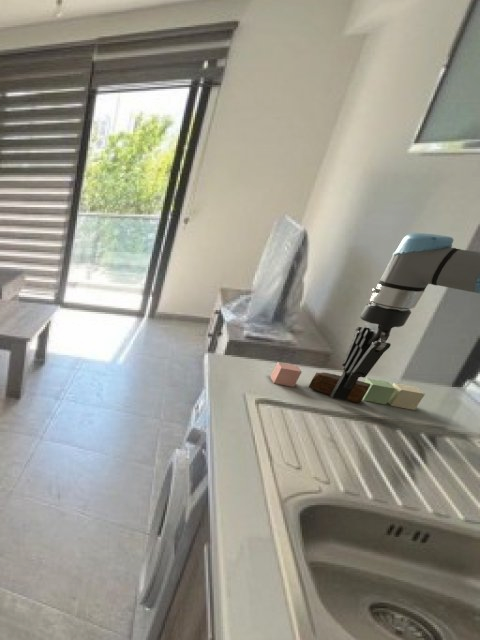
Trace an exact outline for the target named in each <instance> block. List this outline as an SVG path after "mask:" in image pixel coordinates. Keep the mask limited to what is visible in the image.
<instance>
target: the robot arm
mask: <svg viewBox="0 0 480 640" xmlns="http://www.w3.org/2000/svg"><path fill="white" fill-rule="evenodd" d="M453 243H454V238H453V237H451V236H447V235H441V234H434V233H425V232H424V233H421V232H412V233H409V234H407V235H405V236H404V237H403V238H402V240H401V241H400V243H399V245H398V247H397V248H396V250H395V251H394V252H393V253H392V256H391V258H390V259H389V262H388V264H387V266H386V268H385V270H384V272H383V273H382V276H381V278H380V279H379V281H378V283H377V285H376V287H375V288H372V289H371V293H372V294H371V296H370V297H369V301H370V302H368V303H366V305H365V306H364V308H363V310H362V312H361V314H360V316H359V317H360V319H361V320H362V321H364V322H365V323H364V325H363V327H362V326H357V327H356V328H355V331H354V336H353V338H352V340H351V343H350V345H349V347H348V350H347V352H346V355H345V356H344V359H343V362H342V364H341V366H342V367H343V369H342V370H343V371H342V374H341V375H340V376H341V377H340V379H339V381H338V383H337V384H336V386H335V388H334V390H333V392H332V393H331V395H329V396H330V397H331V398H332V399H336V400H341V401H347V400H346V399H347V398H348V396H349V394H350V392H351V391H352V389H353V387H354V385H355V384H356V382H357V380H358V381H359V379H360V378H363V379H364V378H365V379H366V378H367V376H368V375H369V373H370V372H371V370H372V369H373V368H374V366H375V365H376V364H377V362H378V361H379V360H380V359H381V357H382V356H383V355H384V353H385V352H387V350H389V349H390V347H391V345H392V344H391V342H387V341H388V340H389V338H390V335H391V331H392V329H394V328H401V327H404V326H405V324H406V323H407V321H408V319H409V318H410V316H411V315H412V310H411V309H415V308H416V306H417V304H418V303H419V301H420V299H421V298H422V296H423V294H424V293H425V290H426V288H427V287H428V286H429V285H433V286H436V287H437V286H439V287H444V288H450V289H455V290H460V291H465V292H470V293H475V294H479V295H480V251H478V250H477V251H475V250H468V249H461V248H456V247H453Z"/></svg>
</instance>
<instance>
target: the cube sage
mask: <svg viewBox="0 0 480 640" xmlns="http://www.w3.org/2000/svg"><path fill="white" fill-rule="evenodd" d="M363 382H365V383H369V384H370V387H369V389H368V390H367V392H366V394H365V395H364V397H363V399H362V401H365V402H370V403H376V404H382V405H387V404H388V400H389V399H390V397H391V396H392V394H393V392H394V391H395V388H394V387H393V386H392V385H393V384H391V383H390V382H389V381H386V380H381V379H375V378H368V377H365V379H364V380H363Z"/></svg>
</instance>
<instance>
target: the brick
mask: <svg viewBox="0 0 480 640" xmlns="http://www.w3.org/2000/svg"><path fill="white" fill-rule="evenodd" d="M340 377H341V375H340V374H336V373H335V374H334V373H330V372H323V371H322V372H315V374H314V376H313V377H312V379H311V381H310V383H309V384H308V388H309V389H311V390H313V391H315V392H318V393H321V394H323V395H324V394H325V395H328V396H330V395H331V393H332V392H333V390H334V388H335V386H336V384H337V383H338V381H339V379H340ZM369 387H370V384H369V383H365V382H364V381H361V380H359V379H358V380H357V382H356V384H355V385H354V387H353V389H352V391H351V392H350V394H349V396H348V398H347V399H346V400H345V401H348V402H352V403H355V404H360V403H362V401H363V397H364V395H365V394H366V392H367V390H368V389H369Z"/></svg>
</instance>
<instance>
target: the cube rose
mask: <svg viewBox="0 0 480 640" xmlns="http://www.w3.org/2000/svg"><path fill="white" fill-rule="evenodd" d="M272 370H273V371H272V373H271V375H270V379H271V380H272V383H273V384H277V385H282V386H287V387H292V388H294V387H295V386H296V385H297V383H298V380H299V378H300V376H301V375H302V372H303V371H302V370H301V369H300V367H299V366H298V365H295V364H290V363H285V362H277V363H276V364H275V366H274V369H272Z"/></svg>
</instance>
